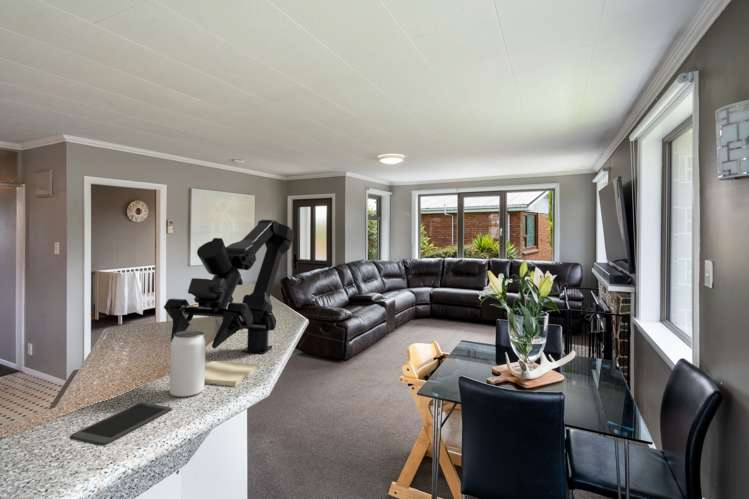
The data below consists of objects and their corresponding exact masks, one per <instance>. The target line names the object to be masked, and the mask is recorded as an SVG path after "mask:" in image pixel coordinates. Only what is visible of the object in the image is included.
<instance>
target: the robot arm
mask: <svg viewBox="0 0 749 499" xmlns="http://www.w3.org/2000/svg"><path fill="white" fill-rule="evenodd" d="M294 240H295V233H294V230H293V229H291V227H290V226H288V225H285V224H282V223H280V222H278V221H277V220H275V219H261V220H258V223H257V224H256V226H254V228H252V229H251V231H249V232H248V234H246V235H245V237H243V238H242V239H241V240H239V241H236V242H233V243H231V244H228V245H227V246H226V245H225V242H224V240H223V238H221V237H220V238H219V237H218V238H217V237H214V238H212V240H211V241H207V242H205V243H203V244H202V245H201V246H199V247H198V248H197V251H196V254H197V256H198V258H199V259H200V261H201V263H202V265H203V267H204V269H205V270H206V272H207V273H208V274H209V275H213V277H212V279H209V278H197V277H196V278H195V277H193V278H191V280H190V283H189V287H188V289H187V293H188V294H189V295H190V294H191V295H192V296H194V298H193V300H194V302H195V303H196V304H197V303H198V304H197V305H190V303H189V301H188V300H187V298H186V299H184V298H169V299H167V300H166V302H165V304H164V306H163V309H164V310H165V311H166V313H167V314H168V315H169V317H170V318H171V320H172V329H171V337H170V343H171V342H172V340H173V338H174V334H175V333H177V332H182V331H187V329H188V328H189V326H190V325H191V324H190V321H192V320H193V318H194V316H200V317H207V318H208V317H209V318H221V319H222V322H221V324H220V326H219V327H218V328H219V329H218V331H217V332H216V335H215V336H214V338H213V341H212V344H211V347H212V349H214V350H215V349H216V348H218V347H219V346H220V345H222V344H223V343H224V342H225V341H226V340H227V339H228V338H230V337H232V336H233V335H234V334H236V333H237V332H238V331H239V332H240V331H243V330H247V338H246V340H247V341H246V342H247V343H246V344H247V345H246V347H244V348H243V349H242V350H241V352H243V353H253V354H265V353H267V352H268V351H270V350H271V349H272V348H273V345H269V332H270V331H274V330H275V329H276V327H277V319H276V317H275V314H274V313H273V305H272V301H271V294H272V291H273V287H274V284H275V280H276V277H277V274H278V273H277V272H278V271H279V270H278V269H279V267H280V263H281V259H282V257H283V255H284V254H286V252H287V251H288V250H290V249H291V248H290V247H291V245H292V243H293V242H294ZM264 245H265V248H266V250H265V253H264V257H263V260H262V262H261V266H260V270H259V271H258V275H257V279H256V282H255V285H254V287H253V291H252V292H251V293H250V294H245V295H244V296H243V299H242V302H233V301H234V297H233V295H234V292H235V290H236V288H237V286H242V285H243V284H244V283H243V279H242V275H241V272H240V271H249V270H250V269H252V267H253V266H254V264H255V262H256V260H257V256H256V254H257V252H258V251H259V250H260V249H261V248H262V247H263V246H264Z"/></svg>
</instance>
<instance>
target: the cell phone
mask: <svg viewBox="0 0 749 499" xmlns="http://www.w3.org/2000/svg"><path fill="white" fill-rule="evenodd" d="M171 411H173V408H172V407H171V406H165V405H159V404H155V403H148V402H138V403H136V404H133V405H132V406H129V407H128V408H125V409H123V410H121V411H119V412H117V413H115V414H112V415H110V416H108V417H106V418H103V419H101V420H100V421H97V422H95V423H92V424H91V425H89V426H86V427H84V428H82V429H79V430H78V431H75V432H73V433H72V434H71V435H70V439H72V440H75V439H76V440H75V441H80V442H81V441H82V442H85V443H89V444H94V445H99V446H107V445H109V444H111V443H113V442H115V441H117V440H119V439H121V438H123V437H124V436H126V435H128V434H131V433H133V432H134V431H136V430H138V429H140V428H142V427H143V426H145V425H147V424H149V423H151V422H153V421H154V420H157V419H158V418H161V417H163V416H164V415H166V414H168V413H170V412H171Z"/></svg>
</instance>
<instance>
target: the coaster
mask: <svg viewBox="0 0 749 499" xmlns="http://www.w3.org/2000/svg"><path fill="white" fill-rule="evenodd" d="M259 369H260V364H257V363H256V364H255V363H254V364H253V363H245V362H244V363H243V362H232V361H221V360H212V361H209V363H207V364H206V363H205V381H204V384H206V385H207V384H208V385H219V386H228V387H229V386H230V387H237V386H238V385H239V384H240V383H242V382H243V381H245V380H246V379H248V378H249V377H250V376H251V375H253V374H254V373H255V372H257V371H258V370H259ZM248 376H249V377H248ZM244 379H245V380H244Z"/></svg>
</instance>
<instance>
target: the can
mask: <svg viewBox="0 0 749 499" xmlns="http://www.w3.org/2000/svg"><path fill="white" fill-rule="evenodd" d="M204 334H205V333H204V332H203V331H201V330H186V331H182V332H177V333H175V334H174V338H173V340H172V342H171V341H170V362H169V364H170V366H169V393H170V395H171V396H172V397H176V398H188V397H194V396H197V395H199V394H201V393H202V392H203V391H204V389H205V383H204V381H205V365H206V349H207V348H206V346H207V345H206V339H205V335H204Z"/></svg>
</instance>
